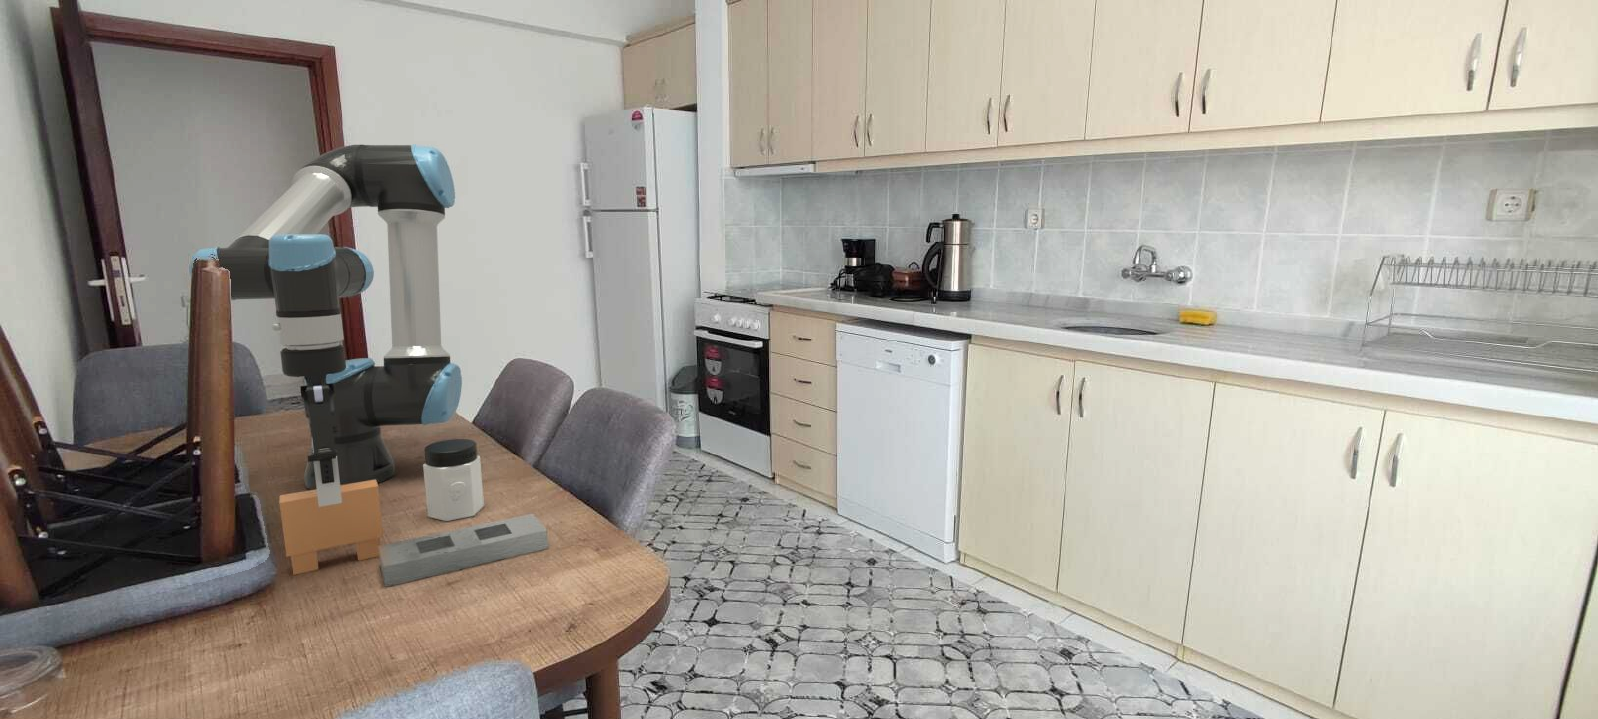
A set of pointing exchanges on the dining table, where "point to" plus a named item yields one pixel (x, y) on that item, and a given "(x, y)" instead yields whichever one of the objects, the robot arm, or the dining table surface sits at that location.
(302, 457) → the dining table surface
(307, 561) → the tan notched block
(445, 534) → the grey slotted block
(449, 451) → the jar
